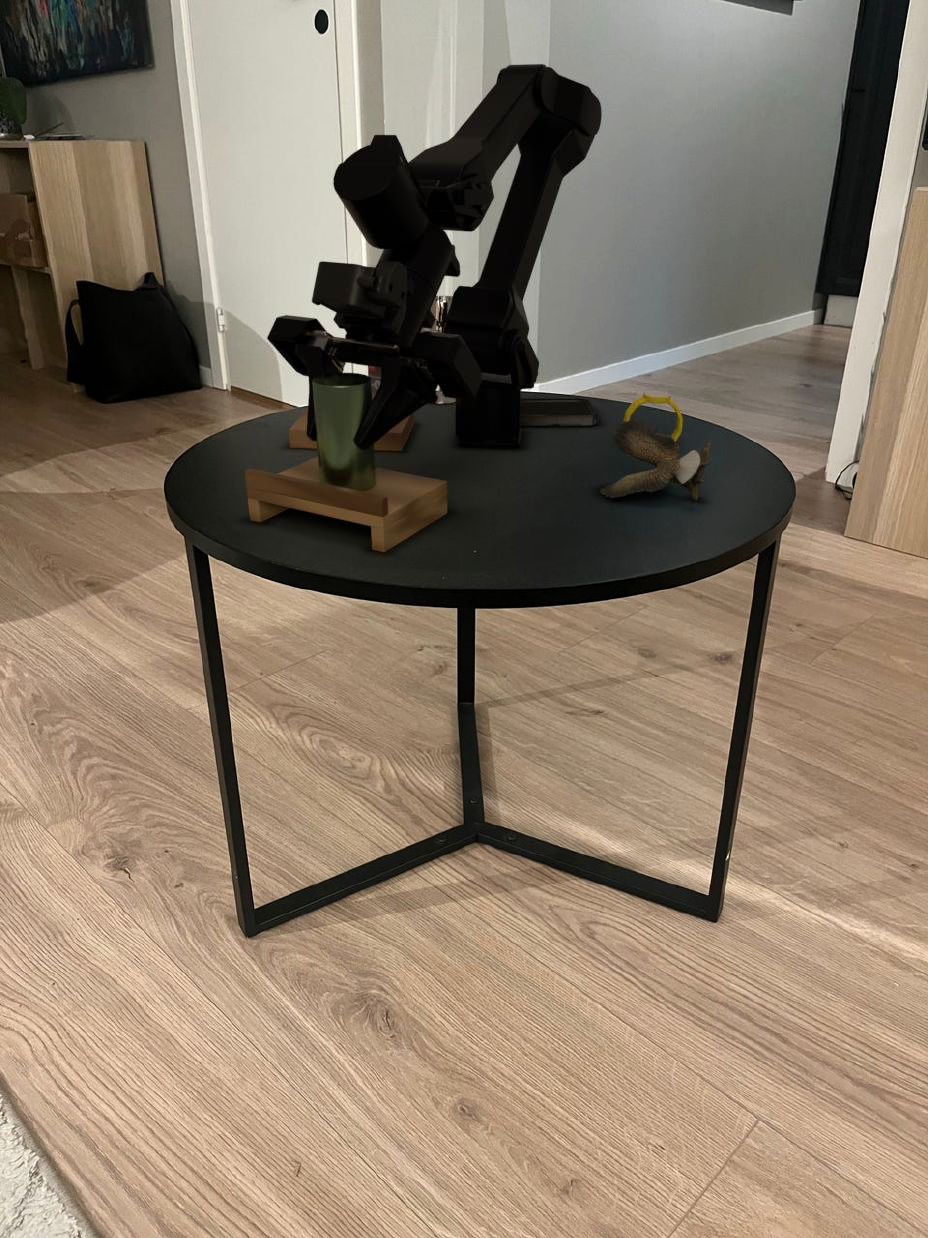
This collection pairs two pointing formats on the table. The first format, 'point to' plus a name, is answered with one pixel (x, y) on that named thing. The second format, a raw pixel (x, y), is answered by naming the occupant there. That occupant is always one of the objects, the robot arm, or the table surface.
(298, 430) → the wooden block
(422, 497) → the shelf
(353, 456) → the green tumbler
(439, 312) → the wineglass
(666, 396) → the watch
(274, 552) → the table surface
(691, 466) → the eagle figurine
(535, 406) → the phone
